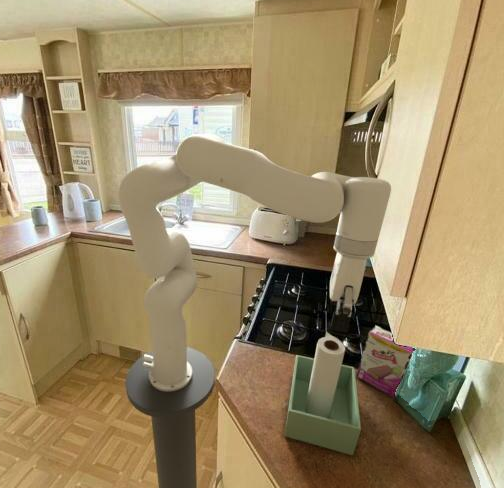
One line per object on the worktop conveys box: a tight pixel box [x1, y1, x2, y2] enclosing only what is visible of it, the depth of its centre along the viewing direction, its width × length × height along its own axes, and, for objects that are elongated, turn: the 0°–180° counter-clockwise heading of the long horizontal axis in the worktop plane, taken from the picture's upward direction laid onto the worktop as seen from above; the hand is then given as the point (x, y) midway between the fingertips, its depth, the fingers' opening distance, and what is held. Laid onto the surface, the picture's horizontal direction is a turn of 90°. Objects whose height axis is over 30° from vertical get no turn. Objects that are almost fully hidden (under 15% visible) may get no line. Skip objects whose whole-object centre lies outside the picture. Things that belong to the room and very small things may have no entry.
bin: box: [284, 354, 362, 456], centre depth 78 cm, size 15×19×9 cm
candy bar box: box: [355, 325, 417, 399], centre depth 86 cm, size 11×5×16 cm, turn 44°
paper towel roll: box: [305, 331, 346, 418], centre depth 75 cm, size 7×6×21 cm
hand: (337, 317), depth 68 cm, fingers open, 9 cm apart
